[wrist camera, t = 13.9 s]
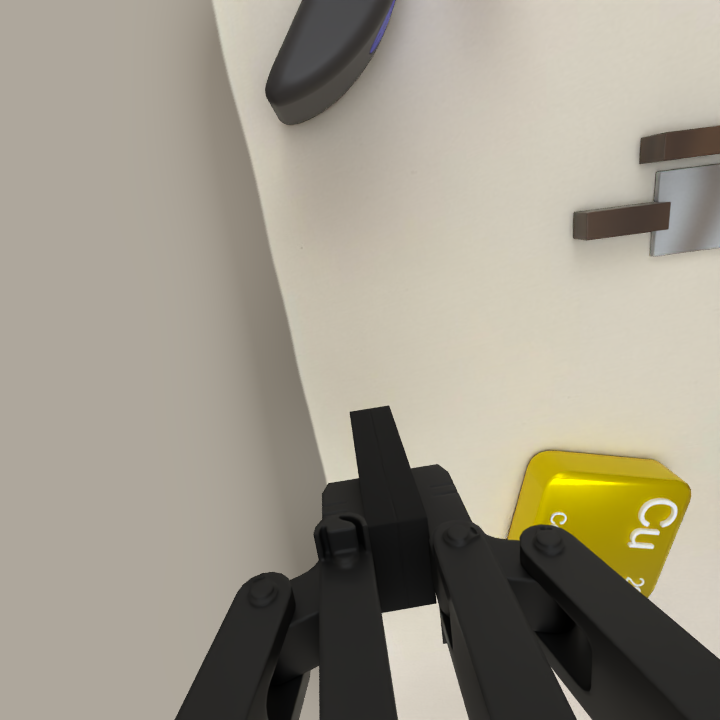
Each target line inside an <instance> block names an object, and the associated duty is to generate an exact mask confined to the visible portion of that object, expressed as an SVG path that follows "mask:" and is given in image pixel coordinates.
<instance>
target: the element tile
mask: <svg viewBox="0 0 720 720" xmlns="http://www.w3.org/2000/svg"><path fill="white" fill-rule="evenodd" d="M690 499H691V489H690V487H689V486H688V484H687V483H686V482H684V481H683V480H682V479H680V478H679V477H678V476H677V475H675V474H674V473H673V472H671V471H670V470H669V469H668V468H666V467H665V466H664V465H663V464H661V463H659V462H657V461H655V460H651V459H640V458H629V457H618V456H607V455H596V454H585V453H574V452H563V451H544V452H541V453H539V454H537V455H536V456H534V457H533V458H532V460H531V461H530V463H529V465H528V467H527V470H526V474H525V478H524V481H523V485H522V488H521V492H520V496H519V499H518V503H517V506H516V510H515V514H514V517H513V521H512V524H511V528H510V532H509V535H508V540H519V537H520V535H521V534H522V532H523V531H524V530H525V529H527V528H529V527H530V526H535V525H540V524H542V525H553V526H556V527H559V528H562V529H564V530H566V531H567V532H569V533H571V534H572V535H573V536H574V537H576V538H577V539H578V540H579V541H580V542H581V543H583V544H584V545H585V546H586V547H587V548H589V549H590V550H591V551H592V552H593V553H594V554H596V555H597V556H598V557H599V558H600V559H602V560H603V561H604V562H605V563H606V564H607V565H609V566H610V567H611V568H612V569H613V570H615V571H616V572H617V573H618V574H619V575H620V576H622V577H623V578H624V579H625V580H626V581H628V582H629V583H630V584H631V585H632V586H633V587H635V588H636V589H637V590H638V591H639V592H641V593H642V594H643V595H644V596H645V597H646V598H648V597H649V595H650V594H651V593H652V591H653V590H654V588H655V585H656V583H657V580H658V578H659V576H660V573H661V571H662V568H663V566H664V563H665V561H666V558H667V556H668V554H669V551H670V549H671V546H672V544H673V541H674V539H675V537H676V534H677V532H678V529H679V527H680V524H681V522H682V519H683V517H684V515H685V512H686V510H687V507H688V505H689V502H690Z"/></svg>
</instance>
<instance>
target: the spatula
mask: <svg viewBox="0 0 720 720" xmlns="http://www.w3.org/2000/svg"><path fill="white" fill-rule="evenodd" d="M645 232H652V235H651V248H650V256H662V255H669V254H676V253H684V252H691V251H699V250H706V249H714V248H720V164H713V165H706V166H698V167H690V168H683V169H675V170H667V171H660V172H656V183H655V196H654V202H649V203H641V204H634V205H626V206H618V207H611V208H603V209H596V210H588V211H580V212H574V233H573V238H574V239H581V240H593V239H600V238H608V237H615V236H623V235H630V234H638V233H645Z"/></svg>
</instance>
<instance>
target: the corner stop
mask: <svg viewBox="0 0 720 720" xmlns="http://www.w3.org/2000/svg"><path fill="white" fill-rule="evenodd" d="M712 154H720V126H713V127H705V128H697V129H690V130H682V131H674V132H666V133H662V134H657V135H652V136H647V137H643V138H641V149H640V164H643V163H650V162H658V161H666V160H674V159H681V158H689V157H697V156H704V155H712Z"/></svg>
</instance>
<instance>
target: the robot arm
mask: <svg viewBox="0 0 720 720" xmlns="http://www.w3.org/2000/svg"><path fill="white" fill-rule="evenodd" d="M350 418H351V425H352V432H353V439H354V446H355V453H356V460H357V467H358V474H359V478H358V479H352V480H346V481H340V482H334V483H328V485H327V487H326V488H325V490H324V492H323V493H322V520H321V521H320V523H319V524H318V525H317V526H316V527H315V531H314V539H315V543H316V549H317V553H318V558H319V561H318V562H317V563H316V565H315V566H314V567H313V568H311V569H310V570H309V571H308V572H306V573H304V574H302V575H300V576H298V577H296V578H294V579H292V580H289V579H288V578H287V577H286V576H284V575H283V574H281V573H275V572H269V573H262V574H260V575H257V576H255V577H253V578H251V579H250V580H249V581H247V582H246V583H245V584H243V585H242V587H241V588H240V590H239V591H238V592H237V594H236V596H235V598H234V600H233V602H232V604H231V606H230V608H229V610H228V613H227V614H226V617H225V619H224V621H223V623H222V625H221V627H220V629H219V631H218V633H217V635H216V637H215V639H214V641H213V643H212V645H211V647H210V649H209V651H208V653H207V655H206V657H205V659H204V661H203V663H202V665H201V667H200V669H199V672H198V674H197V675H196V678H195V680H194V682H193V684H192V686H191V688H190V690H189V692H188V694H187V696H186V698H185V700H184V702H183V704H182V706H181V708H180V710H179V712H178V714H177V716H176V718H175V720H299V717H300V713H301V709H302V705H303V702H304V698H305V694H306V690H307V686H308V682H309V678H310V670H312V669H313V668H315V667H317V666H319V673H320V674H319V678H320V679H319V681H320V682H319V693H320V694H319V698H320V699H319V702H320V704H319V706H320V720H398V717H397V710H396V704H395V697H394V691H393V684H392V678H391V671H390V665H389V658H388V652H387V645H386V639H385V632H384V626H383V620H382V613H384V612H390V611H396V610H401V609H407V608H413V607H419V606H424V605H430V604H436V596H437V599H438V603H439V608H440V618H441V627H442V637H443V644H445V643H447V644H448V648H449V651H450V655H451V658H452V662H453V665H454V669H455V672H456V676H457V679H458V683H459V686H460V690H461V693H462V697H463V700H464V704H465V707H466V711H467V714H468V718H469V720H577V719H576V717H575V715H574V713H573V711H572V709H571V707H570V705H569V703H568V701H567V699H566V697H565V695H564V693H563V691H562V689H561V687H560V685H559V683H558V681H557V679H556V677H555V675H554V673H553V671H552V669H553V670H554V671H555V673H556V674H557V675H558V677H559V678H560V679H561V680H562V682H563V683H564V684H565V686H566V687H567V688H568V689H569V691H570V692H571V693H572V694H573V696H574V697H575V698H576V700H577V701H578V702H579V703H580V705H581V706H582V707H583V708H584V710H585V711H586V712H587V714H588V715H589V716H590V717H591V719H592V720H720V659H719V658H717V657H716V656H715V655H714V654H713V653H711V652H710V651H709V650H708V649H707V648H706V647H704V646H703V645H702V644H701V643H700V642H698V641H697V640H696V639H695V638H694V637H693V636H691V635H690V634H689V633H688V632H687V631H685V630H684V629H683V628H682V627H681V626H680V625H678V624H677V623H676V622H675V621H674V620H672V619H671V618H670V617H669V616H668V615H667V614H665V613H664V612H663V611H662V610H661V609H659V608H658V607H657V606H656V605H655V604H654V603H652V602H651V601H650V600H649V599H648V598H646V597H645V596H644V595H643V594H642V593H641V592H639V591H638V590H637V589H636V588H635V587H633V586H632V585H631V584H630V583H629V582H628V581H626V580H625V579H624V578H623V577H622V576H620V575H619V574H618V573H617V572H616V571H615V570H613V569H612V568H611V567H610V566H609V565H607V564H606V563H605V562H604V561H603V560H602V559H600V558H599V557H598V556H597V555H596V554H594V553H593V552H592V551H591V550H590V549H589V548H587V547H586V546H585V545H584V544H583V543H581V542H580V541H579V540H578V539H577V538H576V537H574V536H573V535H572V534H571V533H569V532H567V531H566V530H564V529H562V528H559V527H556V526H553V525H542V524H540V525H535V526H530V527H529V528H527V529H525V530H524V531H523V532H522V534H521V535H520V537H519V540H508V539H499V538H494V537H491V536H488V535H486V534H485V533H484V532H483V530H482V529H481V528H480V527H479V526H478V525H476V524H474V523H472V521H471V519H470V517H469V515H468V512H467V510H466V508H465V506H464V504H463V502H462V500H461V498H460V496H459V494H458V492H457V489H456V487H455V485H454V484H453V481H452V479H451V477H450V475H449V473H448V471H446V470H445V469H443V468H442V467H441V466H439V465H438V464H436V465H430V466H423V467H417V468H410V465H409V462H408V459H407V456H406V453H405V450H404V448H403V445H402V442H401V439H400V436H399V433H398V430H397V427H396V424H395V421H394V418H393V415H392V412H391V410H390V407H389V406H383V407H377V408H371V409H365V410H358V411H352V412H350ZM550 666H551V667H550ZM551 668H552V669H551Z"/></svg>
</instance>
